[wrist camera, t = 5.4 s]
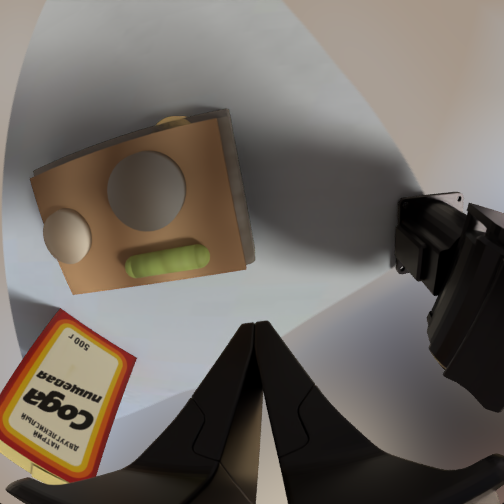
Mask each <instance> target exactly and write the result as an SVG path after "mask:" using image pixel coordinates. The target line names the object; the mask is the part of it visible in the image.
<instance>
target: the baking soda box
mask: <svg viewBox="0 0 504 504" xmlns="http://www.w3.org/2000/svg"><path fill="white" fill-rule="evenodd" d="M136 359H137V358H136V357H134V356H133V355H131V354H129V353H128V352H126V351H124V350H123V349H121V348H119V347H118V346H116V345H114V344H113V343H111V342H110V341H108V340H106V339H105V338H103V337H102V336H100V335H99V334H97V333H96V332H94V331H92V330H91V329H89V328H88V327H87V326H85V325H84V324H82V323H81V322H79V321H78V320H76V319H75V318H73V317H72V316H71V315H69V314H68V313H66V312H65V311H64V310H62V309H61V308H60V309H59V311H58V312H57V313H56V314H55V316H54V317H53V318H52V320H51V321H50V322H49V323H48V325H47V326H46V327H45V329H44V330H43V332H42V333H41V334H40V336H39V337H38V338H37V340H36V341H35V342H34V344H33V345H32V347H31V348H30V349H29V351H28V352H27V354H26V355H25V357H24V358H23V360H22V361H21V363H20V364H19V366H18V367H17V369H16V370H15V372H14V373H13V375H12V376H11V378H10V379H9V381H8V383H7V384H6V386H5V387H4V389H3V390H2V392H1V394H0V453H2V454H3V455H4V456H6V457H7V458H8V459H10V460H11V461H13V462H14V463H16V464H17V465H18V466H20V467H21V468H23V469H25V470H26V471H28V472H29V473H31V474H32V477H34V478H36V479H37V480H40V481H41V482H43V483H45V484H50V485H61V484H67V483H72V482H76V481H80V480H85V479H89V478H93V477H96V475H97V472H98V468H99V465H100V462H101V458H102V455H103V452H104V449H105V446H106V443H107V440H108V437H109V434H110V431H111V427H112V425H113V422H114V419H115V416H116V413H117V410H118V407H119V405H120V402H121V399H122V396H123V394H124V391H125V388H126V385H127V383H128V380H129V377H130V375H131V372H132V370H133V367H134V364H135V362H136Z"/></svg>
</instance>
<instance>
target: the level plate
mask: <svg viewBox="0 0 504 504" xmlns="http://www.w3.org/2000/svg"><path fill="white" fill-rule="evenodd" d="M30 181H31V185H32V188H33V192H34V195H35V199H36V202H37V205H38V208H39V211H40V214H41V217H42V220H43V223H44V228H43V236H44V241H45V244H46V246H47V248H48V250H49V252H50V253H51V254H52V255H53V256H54V257H55V258H56V259H57V260H58V262H59V265H60V267H61V269H62V272H63V274H64V276H65V279H66V281H67V283H68V285H69V287H70V289H71V292H72V294H73V295H76V294H83V293H90V292H98V291H105V290H112V289H119V288H126V287H133V286H140V285H147V284H154V283H161V282H168V281H174V280H181V279H188V278H194V277H201V276H207V275H214V274H220V273H227V272H233V271H239V270H246V265H248V264H251V263H253V262H254V261H255V254H254V249H253V243H252V238H251V233H250V227H249V222H248V217H247V211H246V206H245V201H244V195H243V190H242V185H241V179H240V174H239V169H238V164H237V158H236V153H235V148H234V142H233V137H232V132H231V127H230V121H229V116H226V117H221V118H215V119H210V120H205V121H201V122H196V123H192V124H188V125H183V126H179V127H175V128H171V129H168V130H164V131H160V132H156V133H153V134H149V135H146V136H142V137H139V138H136V139H132V140H129V141H126V142H123V143H120V144H117V145H114V146H111V147H108V148H105V149H102V150H99V151H96V152H93V153H91V154H88V155H85V156H83V157H80V158H77V159H75V160H72V161H70V162H67V163H65V164H62V165H60V166H57V167H55V168H53V169H50V170H48V171H46V172H43V173H41V174H39V175H37V176H34V177H32V178H30Z"/></svg>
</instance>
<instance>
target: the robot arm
mask: <svg viewBox="0 0 504 504" xmlns="http://www.w3.org/2000/svg"><path fill="white" fill-rule="evenodd" d="M458 196H459V199H458V200H457V198H458ZM405 202H406V205H405V206H404V207H403V204H404V203H405ZM467 211H468V213H467V215H466V214H464V213H463V194H461V193H460V192H449V193H440V194H430V195H421V196H412V197H403V198H401V199H400V200H399V202H398V225H397V226H396V234H395V256H396V270H397V272H398V273H399V274H406V273H411V275H412V276H413V277H414V278H415V279H416V280H417V281H422V282H423V283H424V284H425V286H426V287H427V288H428V289H429V290H430V292H431V293H432V294H433V295H434V296H437V295H438V297H437V299H436V302H435V304H434V306H433V308H432V311H430V312H429V314H428V316H427V322H428V329H427V334H428V337H429V341H430V345H429V350H430V352H431V354H432V355H433V356H434V358H435V359H436V360H437V361H438V363H439V364H440V365H441V367H442V368H443V369H444V370H445V371H444V373H443V375H444V376H445V377H446V378H448V379H450V380H453V381H455V382H457V383H458V384H460V385H461V386H463V387H464V388H465V389H467V390H468V391H469V392H470V393H471V394H472V395H473V396H474V397H475V398H476V399H477V400H478V401H479V403H480V404H481V405H482V406H483V407H484V408H485V409H488V410H491V411H494V412H501V411H502V410H503V409H504V213H501V212H498V211H494V210H492V209H488V208H485V207H482V206H479V205H475V204H472V203H469V204H468V208H467ZM402 266H403V268H402V269H400V268H401V267H402ZM263 392H264V396H265V401H266V406H267V410H268V415H269V419H270V424H271V428H272V433H273V437H274V442H275V446H276V450H277V455H278V459H279V463H280V468H281V472H282V477H283V482H284V486H285V491H286V496H287V500H288V504H500V501H499V499H498V496H497V493H496V490H497V489H498V488H500V487H501V486H502V485H504V456H503V455H500V454H492V455H490V456H488V457H486V458H484V459H482V460H480V461H478V462H477V463H475V464H473V465H471V466H469V467H466V468H463V469H458V470H444V469H438V468H434V467H430V466H427V465H423V464H419V463H416V462H413V461H410V460H406V459H403V458H400V457H397V456H394V455H391V454H389V453H386V452H384V451H383V450H381V449H379V448H378V447H377V446H375V445H374V444H373V443H372V442H371V441H370V440H368V439H367V438H366V437H365V436H364V435H363V434H362V433H361V432H360V431H358V430H357V429H356V428H355V427H354V426H353V425H352V424H351V423H350V422H349V421H348V420H346V418H344V417H343V416H342V415H341V414H340V413H339V412H338V411H337V410H336V409H335V407H334V406H333V405H332V404H331V403H330V402H329V401H328V400H327V398H326V397H325V396H324V395H323V394H322V392H321V391H320V390H319V388H318V387H317V386H316V385H315V383H314V382H313V380H312V379H311V378H310V376H309V375H308V374H307V372H306V371H305V370H304V368H303V367H302V366H301V364H300V363H299V362H298V360H297V359H296V358H295V356H294V355H293V354H292V352H291V351H290V350H289V348H288V347H287V345H286V344H285V343H284V341H283V340H282V339H281V337H280V336H279V334H278V333H277V332H276V330H275V329H274V328H273V326H272V325H271V323H270V322H269V321H259V322H256V323H253V322H252V323H244V324H242V325H241V326H240V327H239V329H238V330H237V331H236V333H235V334H234V336H233V337H232V339H231V340H230V342H229V343H228V345H227V346H226V348H225V349H224V351H223V352H222V353H221V355H220V356H219V358H218V359H217V361H216V362H215V364H214V365H213V367H212V368H211V369H210V371H209V372H208V374H207V375H206V377H205V378H204V379H203V381H202V382H201V384H200V385H199V387H198V388H197V389H196V391H195V392H194V394H193V395H192V398H190V399H189V401H188V402H187V403H186V405H185V406H184V408H183V409H182V410H181V411H180V413H179V414H178V415H177V417H176V418H175V419H174V420H173V421H172V423H171V424H170V425H169V426H168V427H167V428H166V429H165V430H164V431H163V433H162V434H161V435H160V436H159V437H158V438H157V439H156V440H155V441H154V442H153V443H152V444H151V445H150V446H149V447H148V448H147V449H146V450H145V451H144V452H143V453H142V454H141V456H139V457H138V458H137V459H136V460H135V461H134V462H132V463H131V464H130V465H128V466H127V467H125V468H123V469H121V470H117V471H114V472H111V473H107V474H104V475H100V476H96V477H93V478H89V479H85V480H80V481H76V482H72V483H67V484H61V485H50V484H45V483H41V482H39V481H37V480H34V479H32V478H28V477H27V478H24V479H20V480H17V481H14V482H13V483H11V484H10V485H8V486H7V488H6V491H7V492H8V493H10V494H11V495H13V496H14V497H16V498H17V499H19V500H20V501H22V502H23V503H25V504H256V493H257V479H258V466H259V452H260V436H261V420H262V404H263ZM0 504H1V503H0ZM503 504H504V503H503Z"/></svg>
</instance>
